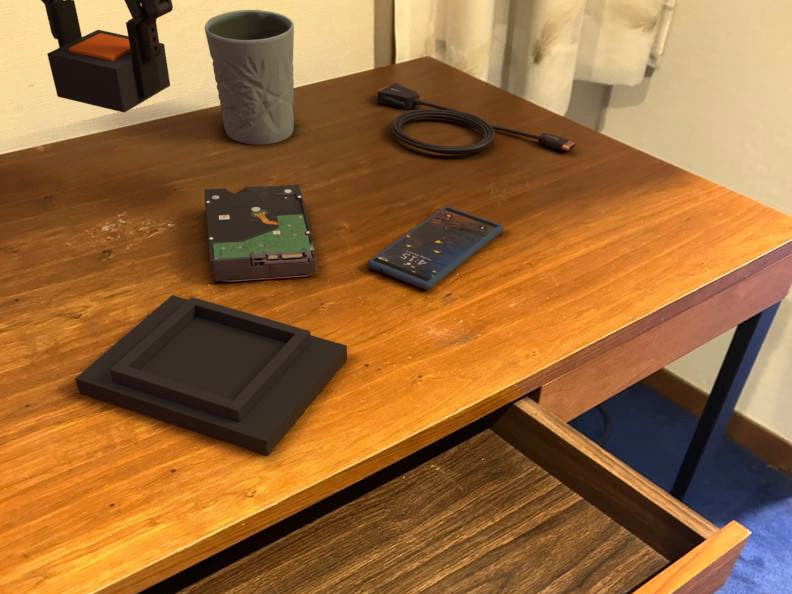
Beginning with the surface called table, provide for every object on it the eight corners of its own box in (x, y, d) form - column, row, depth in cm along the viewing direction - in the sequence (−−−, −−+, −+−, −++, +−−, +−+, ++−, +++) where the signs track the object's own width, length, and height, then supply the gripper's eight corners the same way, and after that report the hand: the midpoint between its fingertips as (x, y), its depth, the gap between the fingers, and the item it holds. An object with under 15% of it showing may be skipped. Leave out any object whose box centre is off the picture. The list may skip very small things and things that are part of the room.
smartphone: (505, 225, 91) (428, 285, 82) (504, 232, 92) (428, 293, 83) (445, 204, 94) (364, 260, 85) (444, 211, 94) (364, 268, 86)
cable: (520, 189, 99) (521, 176, 98) (329, 124, 109) (328, 112, 108) (574, 149, 106) (577, 137, 105) (391, 92, 117) (391, 81, 116)
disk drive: (205, 214, 93) (213, 285, 83) (201, 188, 91) (209, 258, 81) (301, 207, 94) (319, 277, 84) (299, 182, 92) (318, 250, 82)
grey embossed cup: (301, 115, 111) (295, 10, 102) (297, 149, 104) (291, 40, 95) (222, 113, 110) (209, 8, 101) (213, 147, 103) (199, 38, 94)
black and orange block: (57, 96, 86) (45, 50, 82) (106, 71, 91) (97, 26, 88) (124, 113, 84) (115, 65, 81) (170, 85, 89) (163, 40, 86)
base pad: (79, 392, 71) (70, 366, 69) (174, 308, 80) (169, 283, 78) (268, 455, 67) (265, 429, 65) (347, 359, 76) (346, 333, 74)
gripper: (190, -205, 70) (222, 91, 87) (-15, -232, 75) (53, 53, 91) (136, -193, 65) (180, 117, 82) (-79, -223, 70) (5, 75, 87)
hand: (113, 83), depth 87 cm, fingers closed on black and orange block, 8 cm apart
